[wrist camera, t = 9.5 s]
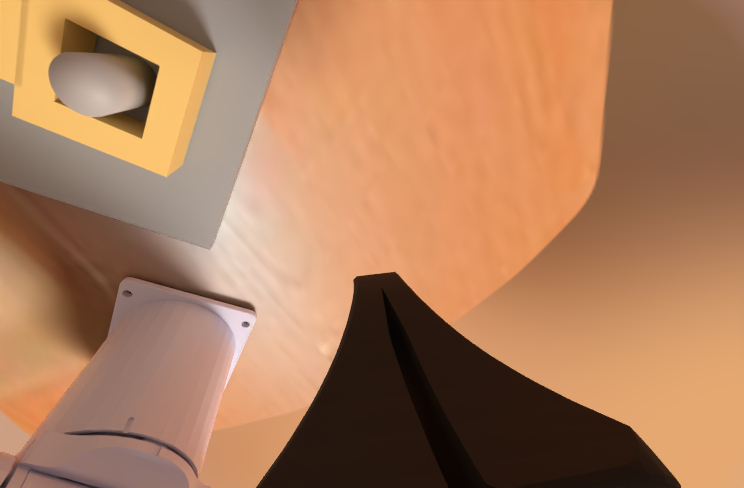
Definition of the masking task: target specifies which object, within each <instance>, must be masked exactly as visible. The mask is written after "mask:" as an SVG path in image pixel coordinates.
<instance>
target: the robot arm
mask: <svg viewBox="0 0 744 488" xmlns="http://www.w3.org/2000/svg"><path fill="white" fill-rule="evenodd" d="M126 290H128V291H130V292H131V293H128V292H127V291H126ZM256 317H257V315H256V313H255V312H254V311H252V310H249V309H245V308H242V307H238V306H234V305H231V304H227V303H223V302H220V301H216V300H213V299H209V298H205V297H202V296H198V295H194V294H191V293H187V292H184V291H180V290H176V289H173V288H169V287H165V286H162V285H158V284H154V283H151V282H147V281H144V280H140V279H136V278H132V277H127V278H125V279H123V280H122V281H121V283H120V284H119V289H118V293H117V298H116V302H115V306H114V311H113V315H112V319H111V324H110V328H109V333H108V337H107V339H106V340H105V341H104V343H103V344H102V345H101V347H100V348H99V349H98V351H97V352H96V353H95V354H94V356H93V357H92V358H91V360H90V361H89V362H88V364H87V365H86V366H85V368H84V369H83V370H82V371H81V373H80V374H79V375H78V377H77V378H76V379H75V381H74V382H73V383H72V384H71V386H70V387H69V388H68V390H67V391H66V392H65V394H64V395H63V396H62V398H61V399H60V400H59V401H58V403H57V404H56V405H55V407H54V408H53V409H52V411H51V412H50V413H49V415H48V416H47V417H46V418H45V420H44V421H43V422H42V424H41V425H40V426H39V428H38V429H37V430H36V431H35V433H34V434H33V435H32V437H31V438H30V439H29V441H28V442H27V443H26V445H25V446H24V447H23V449H22V450H21V451H20V452H19V453H18V454H17V455H16V456H13V455H10V454H7V453H5V452H0V488H211V487H210V486H209V485H207V484H205V483H203V482H201V481H200V480H199V479H198V478H199V475H200V471H201V468H202V464H203V461H204V457H205V454H206V450H207V447H208V443H209V440H210V436H211V433H212V429H213V426H214V422H215V419H216V415H217V412H218V408H219V405H220V401H221V398H222V394H223V391H224V389H225V387H226V385H227V383H228V380H229V378H230V376H231V374H232V372H233V369H234V367H235V365H236V363H237V361H238V358H239V356H240V354H241V352H242V350H243V347H244V345H245V343H246V341H247V339H248V336H249V334H250V332H251V330H252V328H253V325H254V323H255V321H256ZM244 322H249V323H248V324H247V323H244ZM256 488H681V485H680V484H679V482H678V481H677V479H676V478H675V477H674V476H673V475H672V473H671V472H670V471H669V470H668V469H667V468H666V466H665V465H664V464H663V463H662V462H661V460H660V459H659V458H658V457H657V456H656V455H655V453H654V452H653V451H652V450H651V449H650V448H649V447H648V445H646V443H645V442H644V441H643V440H642V439H641V438H640V437H639V436H638V435H637V434H636V432H634V431H633V429H632V428H631V427H630V426H628V425H625V424H623V423H621V422H619V421H616V420H614V419H612V418H610V417H607V416H605V415H603V414H601V413H598V412H596V411H594V410H592V409H589V408H587V407H585V406H583V405H580V404H578V403H576V402H574V401H571V400H570V399H567V398H565V397H563V396H562V395H560V394H558V393H555V392H554V391H552V390H550V389H548V388H546V387H544V386H542V385H540V384H538V383H536V382H534V381H532V380H531V379H529V378H527V377H525V376H524V375H522V374H520V373H518V372H517V371H515V370H513V369H511V368H510V367H508V366H507V365H505V364H503V363H502V362H500V361H498V360H497V359H495V358H494V357H492V356H490V355H489V354H487V353H486V352H484V351H483V350H482V349H480V348H479V347H477V346H476V345H475V344H473V343H472V342H470V341H469V340H468V339H466V338H465V337H464V336H462V335H461V334H460V333H458V332H457V331H456V330H455V329H454V328H452V327H451V326H450V325H449V324H448V323H446V322H445V321H444V320H443V319H442V318H441V317H440V316H438V315H437V314H436V313H435V312H434V311H433V310H432V309H431V308H430V307H429V306H428V305H427V304H426V303H424V302H423V301H422V300H421V299H420V298H419V297H418V296H417V295H416V293H415V292H414V291H413V290H412V289H411V288H410V287H409V286H408V285H407V284H406V283H405V282H404V281H403V280H402V278H401V277H400V276H399V275H398V274H397V273H396V272H391V273H382V274H374V275H365V276H357V277H356V278H355V279H354V294H353V300H352V305H351V309H350V313H349V317H348V321H347V325H346V328H345V331H344V333H343V336H342V339H341V342H340V345H339V348H338V350H337V353H336V355H335V357H334V360H333V362H332V364H331V366H330V369H329V371H328V373H327V375H326V377H325V379H324V381H323V383H322V385H321V387H320V389H319V391H318V393H317V395H316V397H315V398H314V400H313V402H312V404H311V406H310V407H309V409H308V411H307V412H306V414H305V416H304V417H303V419H302V421H301V422H300V424H299V426H298V427H297V429H296V430H295V432H294V433H293V435H292V437H291V438H290V440H289V441H288V443H287V445H286V446H285V448H284V449H283V451H282V452H281V453H280V455H279V456H278V458H277V459H276V460H275V462H274V463H273V465H272V466H271V467H270V469H269V470H268V472H267V473H266V474H265V476H264V477H263V479H262V480H261V481H260V483H259V484H258V486H257V487H256Z"/></svg>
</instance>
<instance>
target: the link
mask: <svg viewBox="0 0 744 488" xmlns="http://www.w3.org/2000/svg"><path fill="white" fill-rule="evenodd" d="M97 35H99V36H101V37H103V38H105V39H107V40H109V41H111V42H113V43H115V44H117V45H119V46H121V47H123V48H125V49H127V50H129V51H131V52H133V53H135V54H137V55H139V56H141V57H143V58H145V59H147V60H149V61H151V62H153V63H155V64H157V65H159V66H160V68H159V72H158V76H157V80H156V84H155V88H154V92H153V96H152V100H151V104H150V109H149V113H148V117H147V121H146V123H144V122H142V121H140V120H138V119H135V118H133V117H131V116H129V115H126V114H124V113H122V112H118V113H114V114H110V115H106V116H102V117H89V116H84V115H82V114H79V113H77V112H75V111H73V110H72V109H70V108H69V107H67V106H66V105H65V104H64V103H63V102H62V101H61V100H60V99H59V98H58V97H57V95H56V94H55V92H54V91H53V89H52V87H51V84H50V81H49V76H48V70H49V65H50V63H51V61H52V60H53V59H54V58H55V57H56V56H57V55H59V54H61V53H65V52H84V53H94V49H95V43H96V37H97ZM216 54H217V53H215V52H213V51H212V50H210V49H208V48H206V47H204V46H202V45H201V44H199V43H197V42H195V41H193V40H191V39H190V38H188V37H186V36H184V35H182V34H180V33H179V32H177V31H175V30H173V29H171V28H170V27H168V26H166V25H164V24H162V23H160V22H159V21H157V20H155V19H153V18H151V17H149V16H148V15H146V14H144V13H142V12H140V11H138V10H137V9H135V8H133V7H131V6H129V5H127V4H126V3H124V2H122V1H120V0H0V79H3V80H5V81H7V82H10V83H12V84H14V85H15V86H14V98H13V110H12V116H14V117H17V118H19V119H22V120H24V121H27V122H29V123H32V124H34V125H37V126H39V127H42V128H44V129H47V130H49V131H52V132H54V133H57V134H59V135H62V136H64V137H67V138H69V139H72V140H74V141H77V142H79V143H82V144H84V145H87V146H89V147H92V148H94V149H97V150H99V151H102V152H104V153H107V154H109V155H112V156H115V157H117V158H120V159H122V160H125V161H127V162H130V163H132V164H135V165H137V166H140V167H142V168H145V169H147V170H150V171H152V172H155V173H157V174H160V175H162V176H165V177H167V176H169V175H170V174H171V173H173V172H174V171H175V170H177V169H178V168H179V167H181V166H182V165H183V163H184V159H185V156H186V153H187V149H188V146H189V143H190V139H191V136H192V133H193V130H194V126H195V123H196V120H197V116H198V113H199V110H200V107H201V103H202V100H203V97H204V93H205V90H206V87H207V83H208V80H209V77H210V74H211V70H212V67H213V64H214V60H215V57H216Z"/></svg>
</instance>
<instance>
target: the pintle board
mask: <svg viewBox="0 0 744 488" xmlns="http://www.w3.org/2000/svg"><path fill="white" fill-rule="evenodd" d="M120 1H122V2H124V3H126V4H127V5H129V6H131V7H133V8H135V9H137V10H138V11H140V12H142V13H144V14H146V15H148V16H149V17H151V18H153V19H155V20H157V21H159V22H160V23H162V24H164V25H166V26H168V27H170V28H171V29H173V30H175V31H177V32H179V33H180V34H182V35H184V36H186V37H188V38H190V39H191V40H193V41H195V42H197V43H199V44H201V45H202V46H204V47H206V48H208V49H210V50H212V51H213V52H215V53H217V54H216V57H215V60H214V64H213V67H212V70H211V74H210V77H209V80H208V83H207V87H206V90H205V93H204V97H203V100H202V103H201V107H200V110H199V113H198V116H197V120H196V123H195V126H194V130H193V133H192V136H191V139H190V143H189V146H188V149H187V153H186V156H185V159H184V163H183V165H182V166H181V167H179V168H178V169H177V170H175V171H174V172H173V173H171V174H170V175H169V176H167V177H165V176H162V175H160V174H157V173H155V172H152V171H150V170H147V169H145V168H142V167H140V166H137V165H135V164H132V163H130V162H127V161H125V160H122V159H120V158H117V157H115V156H112V155H109V154H107V153H104V152H102V151H99V150H97V149H94V148H92V147H89V146H87V145H84V144H82V143H79V142H77V141H74V140H72V139H69V138H67V137H64V136H62V135H59V134H57V133H54V132H52V131H49V130H47V129H44V128H42V127H39V126H37V125H34V124H32V123H29V122H27V121H24V120H22V119H19V118H17V117H14V116H12V110H13V98H14V86H15V85H14V84H12V83H10V82H7V81H5V80H3V79H0V182H2V183H5V184H8V185H11V186H14V187H18V188H21V189H24V190H27V191H30V192H33V193H36V194H39V195H42V196H45V197H48V198H52V199H55V200H58V201H61V202H64V203H67V204H70V205H73V206H76V207H79V208H82V209H86V210H89V211H92V212H95V213H98V214H101V215H104V216H107V217H110V218H113V219H116V220H119V221H123V222H126V223H129V224H132V225H135V226H138V227H141V228H144V229H147V230H150V231H153V232H157V233H160V234H163V235H166V236H169V237H172V238H175V239H178V240H181V241H184V242H187V243H190V244H194V245H197V246H200V247H203V248H206V249H209V250H210V249H211V247H212V245H213V243H214V242H215V239H216V236H217V233H218V230H219V227H220V225H221V222H222V219H223V216H224V213H225V210H226V207H227V204H228V201H229V199H230V196H231V193H232V190H233V187H234V184H235V181H236V178H237V176H238V173H239V170H240V167H241V164H242V161H243V158H244V155H245V152H246V150H247V147H248V144H249V141H250V138H251V135H252V132H253V129H254V127H255V124H256V121H257V118H258V115H259V112H260V109H261V106H262V103H263V101H264V98H265V95H266V92H267V89H268V86H269V83H270V80H271V78H272V75H273V72H274V69H275V66H276V63H277V60H278V57H279V54H280V52H281V49H282V46H283V43H284V40H285V37H286V34H287V31H288V29H289V26H290V23H291V20H292V17H293V14H294V11H295V8H296V5H297V3H298V0H120ZM159 68H160V66H159V65H157V64H155V63H153V62H151V61H149V60H147V59H145V58H143V57H141V56H139V55H137V54H135V53H133V52H131V51H129V50H127V49H125V48H123V47H121V46H119V45H117V44H115V43H113V42H111V41H109V40H107V39H105V38H103V37H101V36H99V35H97V37H96V43H95V49H94V53H84V52H65V53H61V54H59V55H57V56H56V57H55V58H54V59H53V60H52V61H51V63H50V65H49V70H48V76H49V81H50V84H51V87H52V89H53V91H54V92H55V94H56V95H57V97H58V98H59V99H60V100H61V101H62V102H63V103H64V104H65V105H66V106H67V107H69V108H70V109H72V110H73V111H75V112H77V113H79V114H82V115H84V116H89V117H102V116H106V115H110V114H114V113H118V112H122V113H124V114H126V115H129V116H131V117H133V118H135V119H138V120H140V121H142V122H144V123H146V121H147V117H148V113H149V109H150V104H151V100H152V96H153V92H154V88H155V84H156V80H157V76H158V72H159Z"/></svg>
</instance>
